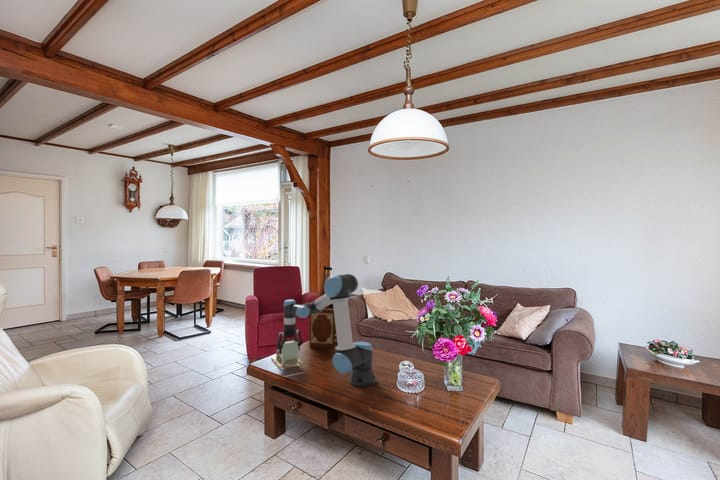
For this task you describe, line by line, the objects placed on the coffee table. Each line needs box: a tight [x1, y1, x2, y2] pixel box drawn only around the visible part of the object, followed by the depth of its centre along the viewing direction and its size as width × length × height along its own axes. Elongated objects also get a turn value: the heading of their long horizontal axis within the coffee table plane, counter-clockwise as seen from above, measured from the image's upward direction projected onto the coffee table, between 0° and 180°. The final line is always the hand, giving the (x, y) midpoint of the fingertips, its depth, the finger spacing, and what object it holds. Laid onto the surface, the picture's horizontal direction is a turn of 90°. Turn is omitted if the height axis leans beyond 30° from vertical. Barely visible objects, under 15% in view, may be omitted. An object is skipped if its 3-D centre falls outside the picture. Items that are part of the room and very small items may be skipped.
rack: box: [270, 349, 303, 370], centre depth 229 cm, size 20×15×7 cm
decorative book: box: [309, 306, 338, 349], centre depth 265 cm, size 22×8×30 cm, turn 84°
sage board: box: [281, 340, 299, 365], centre depth 223 cm, size 3×10×14 cm, turn 121°
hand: (289, 357), depth 223 cm, fingers closed on sage board, 10 cm apart
